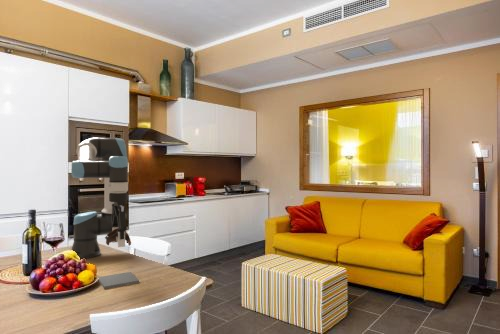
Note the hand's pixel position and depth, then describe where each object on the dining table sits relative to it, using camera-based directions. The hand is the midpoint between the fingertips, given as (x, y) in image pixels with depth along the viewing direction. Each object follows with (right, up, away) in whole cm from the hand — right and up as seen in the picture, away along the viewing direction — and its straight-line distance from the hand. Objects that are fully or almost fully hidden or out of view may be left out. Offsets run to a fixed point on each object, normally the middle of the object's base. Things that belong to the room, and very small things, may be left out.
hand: (118, 244), depth 149 cm
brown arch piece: (0, 0, 0) cm, 1 cm away
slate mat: (0, -16, 0) cm, 16 cm away
